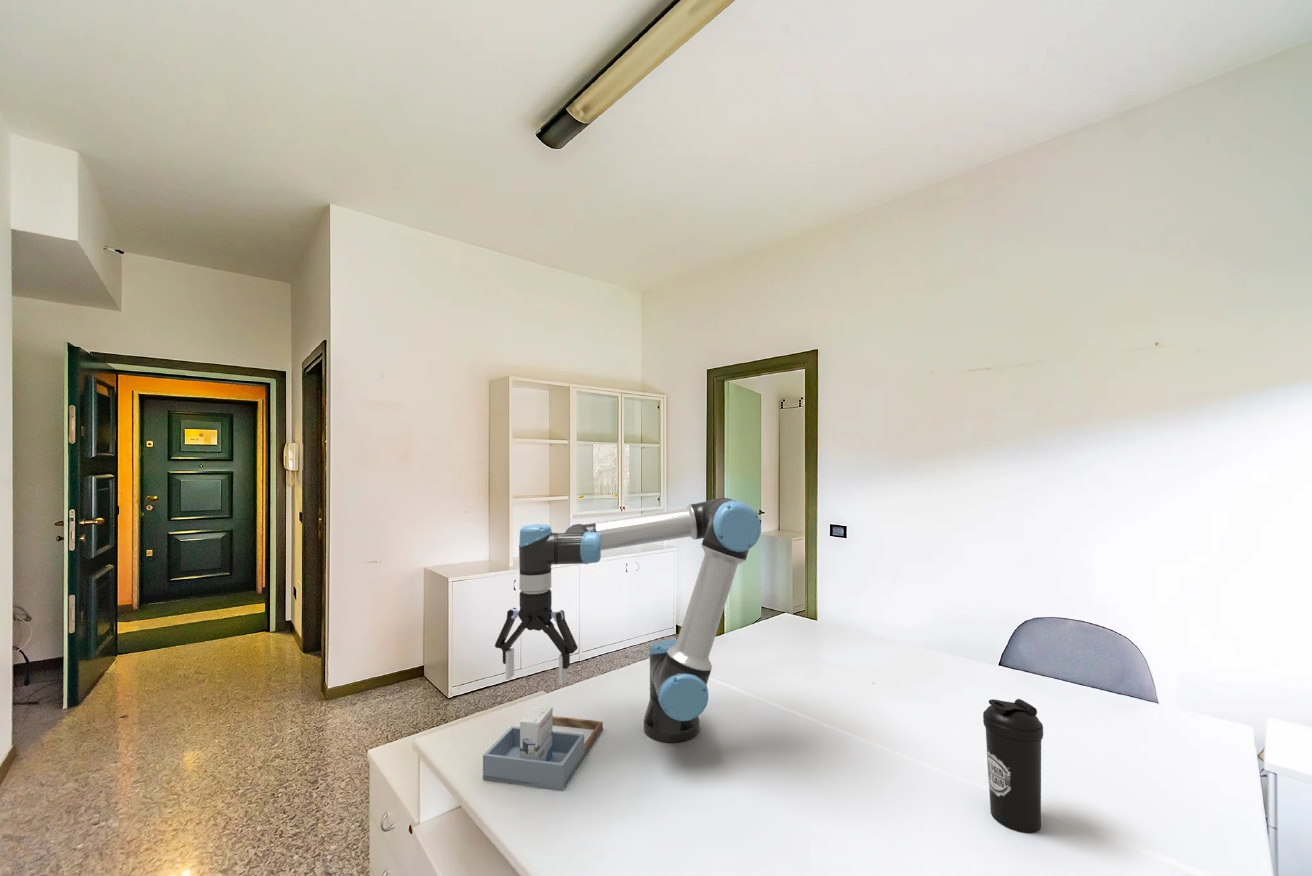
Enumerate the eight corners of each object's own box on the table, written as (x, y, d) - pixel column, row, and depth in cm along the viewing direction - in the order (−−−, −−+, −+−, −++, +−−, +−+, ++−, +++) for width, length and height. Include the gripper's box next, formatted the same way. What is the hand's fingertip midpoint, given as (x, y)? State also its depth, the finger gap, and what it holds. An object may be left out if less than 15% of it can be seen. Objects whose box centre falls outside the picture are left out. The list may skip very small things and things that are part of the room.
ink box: (534, 752, 133) (534, 704, 133) (553, 755, 132) (553, 706, 132) (518, 773, 124) (518, 721, 125) (538, 775, 123) (538, 723, 124)
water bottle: (974, 804, 113) (971, 693, 114) (1020, 801, 114) (1016, 691, 115) (1010, 838, 103) (1006, 716, 104) (1059, 834, 104) (1055, 713, 105)
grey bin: (584, 757, 132) (584, 734, 133) (562, 790, 119) (562, 765, 119) (511, 748, 137) (511, 726, 137) (482, 779, 123) (482, 755, 124)
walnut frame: (602, 728, 146) (602, 721, 146) (585, 756, 133) (585, 748, 133) (535, 721, 150) (535, 714, 150) (512, 747, 137) (512, 739, 137)
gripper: (590, 588, 130) (590, 677, 130) (496, 584, 136) (496, 669, 135) (578, 596, 123) (579, 690, 122) (480, 591, 128) (480, 681, 128)
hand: (536, 679), depth 129 cm, fingers open, 13 cm apart
